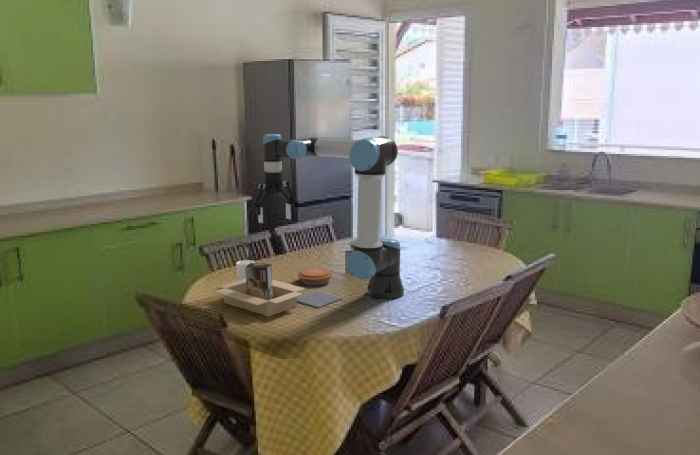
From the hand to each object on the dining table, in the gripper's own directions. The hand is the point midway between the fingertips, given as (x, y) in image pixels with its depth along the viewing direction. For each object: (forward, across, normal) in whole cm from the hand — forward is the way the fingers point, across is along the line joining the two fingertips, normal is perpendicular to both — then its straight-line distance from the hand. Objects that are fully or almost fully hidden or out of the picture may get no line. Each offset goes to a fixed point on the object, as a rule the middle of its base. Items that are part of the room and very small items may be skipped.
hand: (274, 220), depth 271 cm
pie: (+28, -14, +9) cm, 33 cm away
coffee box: (+28, +20, +22) cm, 41 cm away
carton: (+28, +20, +22) cm, 40 cm away
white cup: (+28, +12, -5) cm, 31 cm away
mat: (+28, -1, +31) cm, 42 cm away
